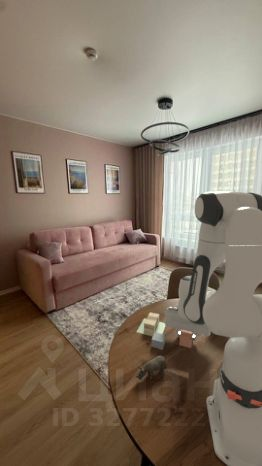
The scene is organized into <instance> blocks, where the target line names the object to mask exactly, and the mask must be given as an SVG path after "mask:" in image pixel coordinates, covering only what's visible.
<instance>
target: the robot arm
mask: <svg viewBox="0 0 262 466" xmlns="http://www.w3.org/2000/svg"><path fill="white" fill-rule="evenodd" d="M194 215H195V217H196V219H197V220H198V221H199V223H200V226H199V227H200V228H199V233H198V240H197V241H198V243H197V249H196V253H195V258H194V262H193V265H192V271H191V275H186V276H183V277H182V278H180V281H179V284H178V285H179V286H178V297H179V299H178V302H177V307H174V306H173V307H172V306H167V307H165V308H164V314H165V317H164V323H165V325H166V326H165V327H169V328H173V329H174V331H175V332H176V337H178V338H180V334H181V330H185V331H189V332H193V333H194V334H193V335H192V341H194V342H195V341H197V338H198V337H200V336H199V335H201V336H202V335H203V336H207V337H210V335H211V333H212V334H214V335H217V336H220V337H221V336H222V337H226V338H229V339H228V340H227V342H226V343H225V346H224V351H223V361H222V364H221V367H220V371H219V372H220V376H219V377H218V378H216V379H215V380H214V383H213V391H212V395H209V396H207V397H206V400H205V403H206V410H207V415H208V416H207V417H208V420H209V421H208V422H209V426H210V433H211V438H212V443H213V444H212V446H213V450H214V453H215V455H216V456H217V457H218V458H219V459H220V460H221V461H222V462H223V463H224V464H226V466H262V294H261V293H260V294H254V293H255V290H256V289H257V287H258V286H259V285H260V284H261V283H262V195H261V194H258V193H254V192H242V191H232V190H226V191H225V190H224V191H206V192H203V193H200V194H199V195H198V197H197V198H196V199H195V203H194ZM224 261H225V267H224V268H225V270H224V276H223V279H222V280H221V281H222V282H221V283H220V285H219V287H218V288H217V290H216V289H215V288H213V287H212V288H211V287H209V282H210V278H211V277H212V275H213V273H214V271H215V270H216V269H217V267H219V265H221V263H223V262H224Z"/></svg>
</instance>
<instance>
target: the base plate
mask: <svg viewBox="0 0 262 466" xmlns="http://www.w3.org/2000/svg"><path fill="white" fill-rule="evenodd" d="M146 319H147V318H143V320H142V321H141V323H140V325H139V326H138V329H137V330H136V333H138V334H142V335H146V336H150V337H153V335H151V334H147V333H144V322H145V321H146ZM166 327H167V326H166V325H165V322H162V321H159V325H158V327H157V329H156V333H160V334H164V331H165V328H166Z"/></svg>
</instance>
